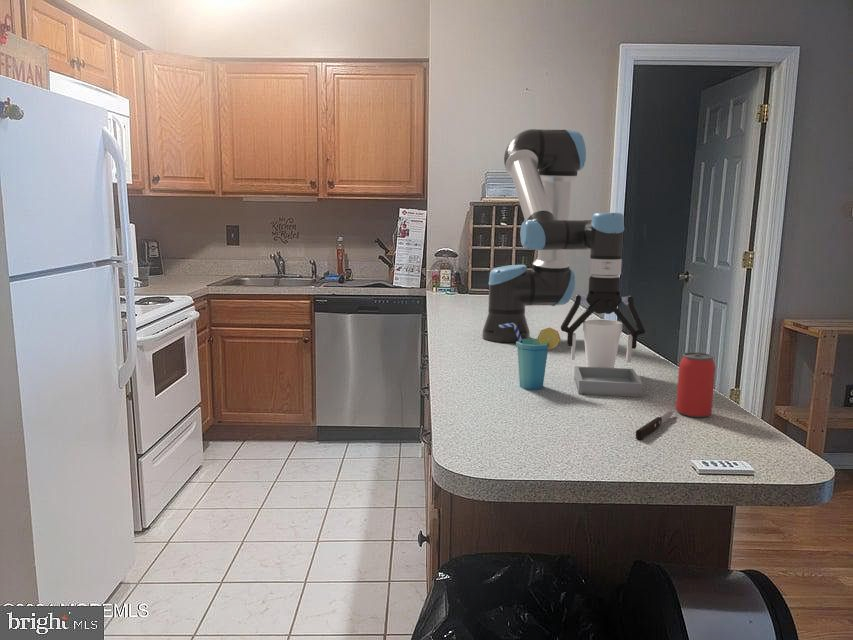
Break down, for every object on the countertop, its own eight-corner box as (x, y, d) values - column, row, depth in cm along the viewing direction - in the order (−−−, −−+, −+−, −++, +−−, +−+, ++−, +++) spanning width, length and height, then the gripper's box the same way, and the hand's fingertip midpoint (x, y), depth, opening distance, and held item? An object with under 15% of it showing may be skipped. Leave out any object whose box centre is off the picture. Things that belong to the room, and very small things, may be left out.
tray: (574, 378, 150) (574, 366, 149) (632, 380, 148) (632, 368, 147) (578, 393, 137) (579, 380, 136) (642, 397, 135) (643, 383, 134)
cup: (498, 390, 139) (499, 325, 136) (496, 381, 147) (497, 319, 144) (560, 392, 138) (563, 326, 136) (555, 382, 146) (558, 320, 143)
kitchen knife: (640, 442, 108) (641, 431, 108) (635, 440, 109) (635, 429, 109) (675, 417, 122) (676, 407, 122) (670, 416, 123) (671, 406, 122)
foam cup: (620, 378, 150) (623, 326, 148) (581, 376, 152) (584, 324, 150) (616, 369, 159) (619, 319, 157) (580, 367, 161) (582, 318, 159)
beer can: (709, 410, 126) (714, 353, 124) (712, 420, 120) (718, 360, 118) (674, 406, 128) (679, 350, 126) (676, 416, 122) (681, 357, 120)
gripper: (554, 276, 150) (550, 361, 153) (661, 278, 146) (655, 365, 149) (552, 273, 157) (549, 354, 160) (654, 275, 153) (649, 358, 157)
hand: (600, 360), depth 155 cm, fingers open, 13 cm apart
